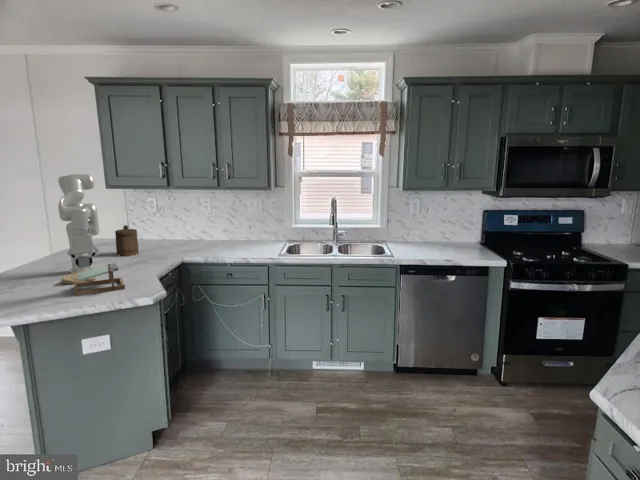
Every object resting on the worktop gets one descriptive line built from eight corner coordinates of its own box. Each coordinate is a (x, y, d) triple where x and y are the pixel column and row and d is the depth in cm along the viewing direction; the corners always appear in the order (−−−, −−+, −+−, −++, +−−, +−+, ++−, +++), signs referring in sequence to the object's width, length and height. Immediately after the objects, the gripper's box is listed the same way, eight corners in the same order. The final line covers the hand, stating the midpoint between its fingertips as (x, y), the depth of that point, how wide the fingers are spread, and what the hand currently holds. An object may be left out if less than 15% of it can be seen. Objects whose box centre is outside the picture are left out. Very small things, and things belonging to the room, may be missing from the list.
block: (79, 265, 213) (78, 256, 212) (89, 264, 215) (88, 255, 214) (79, 267, 208) (78, 258, 207) (90, 266, 211) (89, 257, 210)
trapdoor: (78, 275, 217) (77, 272, 216) (116, 265, 226) (115, 262, 226) (79, 281, 205) (78, 278, 205) (118, 270, 214) (118, 267, 214)
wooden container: (136, 251, 309) (134, 223, 304) (140, 255, 296) (138, 225, 292) (115, 253, 301) (113, 224, 296) (118, 257, 288) (115, 227, 284)
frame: (74, 287, 218) (72, 267, 216) (121, 280, 230) (119, 262, 228) (75, 295, 204) (72, 275, 202) (125, 288, 216) (123, 269, 214)
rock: (100, 276, 241) (100, 269, 240) (95, 284, 227) (95, 277, 226) (67, 277, 235) (66, 270, 234) (60, 286, 221) (59, 278, 220)
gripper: (99, 229, 216) (102, 262, 219) (61, 232, 207) (65, 265, 210) (99, 231, 210) (103, 265, 213) (61, 234, 201) (65, 269, 204)
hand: (84, 265), depth 212 cm, fingers closed on block, 5 cm apart
